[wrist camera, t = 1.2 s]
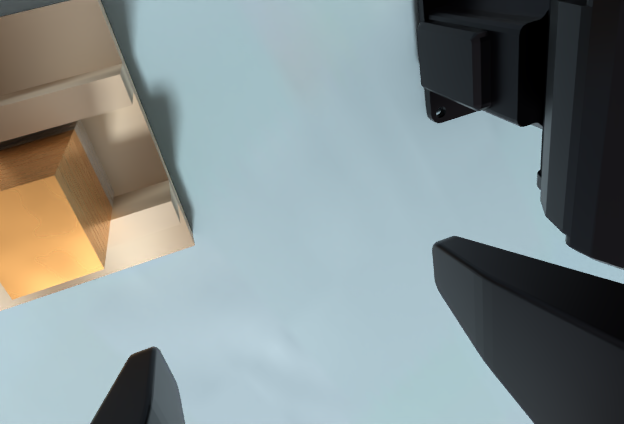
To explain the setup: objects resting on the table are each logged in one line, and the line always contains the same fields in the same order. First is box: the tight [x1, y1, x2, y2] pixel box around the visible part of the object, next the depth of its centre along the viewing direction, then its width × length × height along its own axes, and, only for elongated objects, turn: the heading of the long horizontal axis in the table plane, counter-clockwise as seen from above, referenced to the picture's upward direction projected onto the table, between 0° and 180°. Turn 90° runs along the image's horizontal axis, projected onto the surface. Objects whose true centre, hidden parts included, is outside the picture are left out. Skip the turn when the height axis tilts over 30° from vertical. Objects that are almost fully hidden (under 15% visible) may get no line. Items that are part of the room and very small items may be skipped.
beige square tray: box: [0, 0, 195, 311], centre depth 17 cm, size 10×10×3 cm
